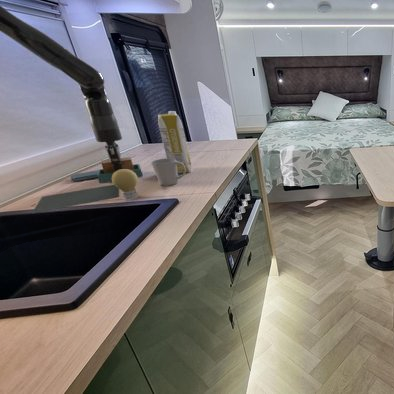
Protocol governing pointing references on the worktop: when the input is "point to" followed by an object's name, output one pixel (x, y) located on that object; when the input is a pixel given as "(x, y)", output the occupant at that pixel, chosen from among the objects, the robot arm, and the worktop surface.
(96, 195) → the slate board
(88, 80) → the robot arm
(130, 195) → the light bulb
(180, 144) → the juice carton
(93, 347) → the worktop surface
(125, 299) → the worktop surface
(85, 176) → the smartphone
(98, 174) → the tray
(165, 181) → the cup
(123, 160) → the eraser
